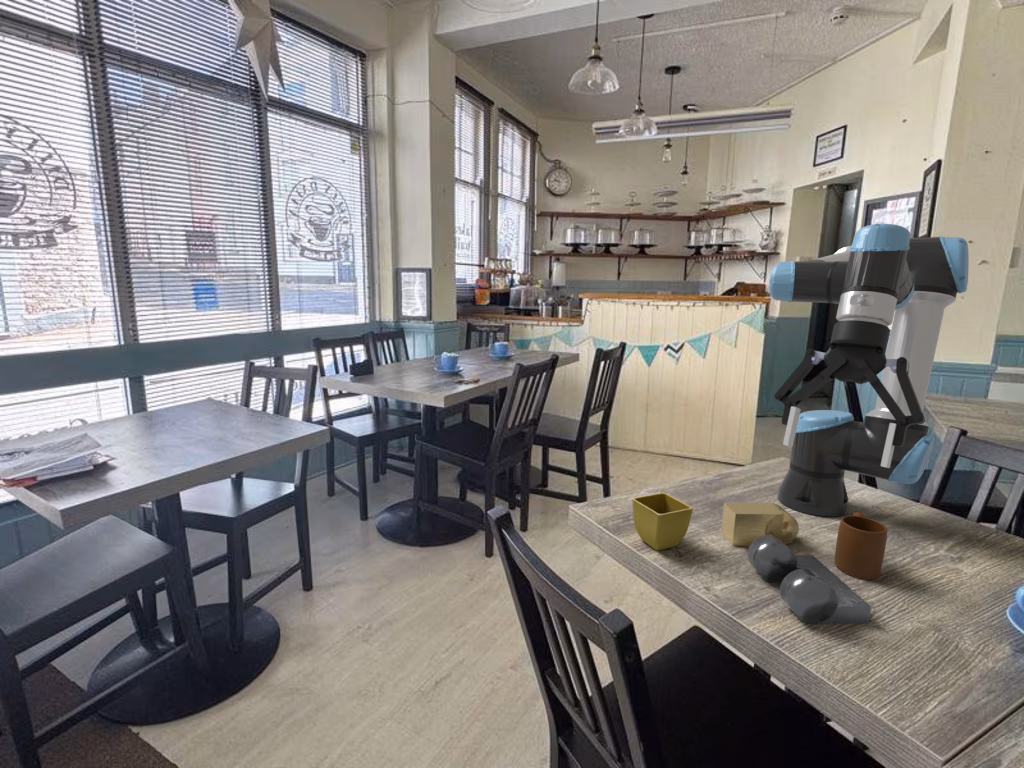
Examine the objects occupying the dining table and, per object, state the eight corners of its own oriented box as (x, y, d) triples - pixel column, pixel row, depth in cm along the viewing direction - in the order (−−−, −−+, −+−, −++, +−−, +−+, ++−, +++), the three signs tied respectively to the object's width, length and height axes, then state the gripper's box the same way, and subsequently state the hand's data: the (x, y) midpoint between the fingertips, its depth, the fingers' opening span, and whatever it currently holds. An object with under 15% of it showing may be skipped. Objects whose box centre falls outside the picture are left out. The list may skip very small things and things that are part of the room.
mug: (829, 545, 111) (836, 503, 109) (873, 554, 107) (880, 511, 106) (835, 574, 100) (842, 527, 98) (883, 584, 97) (892, 536, 95)
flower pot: (661, 530, 116) (664, 491, 114) (690, 549, 108) (694, 507, 106) (628, 538, 112) (631, 498, 111) (656, 558, 105) (659, 515, 103)
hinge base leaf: (810, 569, 101) (815, 535, 100) (868, 623, 86) (874, 583, 84) (745, 569, 101) (749, 535, 100) (791, 623, 85) (797, 583, 84)
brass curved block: (782, 532, 116) (786, 502, 115) (796, 545, 111) (800, 514, 109) (720, 532, 116) (724, 502, 114) (732, 545, 110) (735, 513, 109)
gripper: (772, 313, 90) (744, 436, 90) (962, 324, 73) (929, 476, 73) (786, 324, 96) (760, 440, 95) (966, 336, 78) (935, 478, 78)
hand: (833, 456), depth 84 cm, fingers open, 13 cm apart
